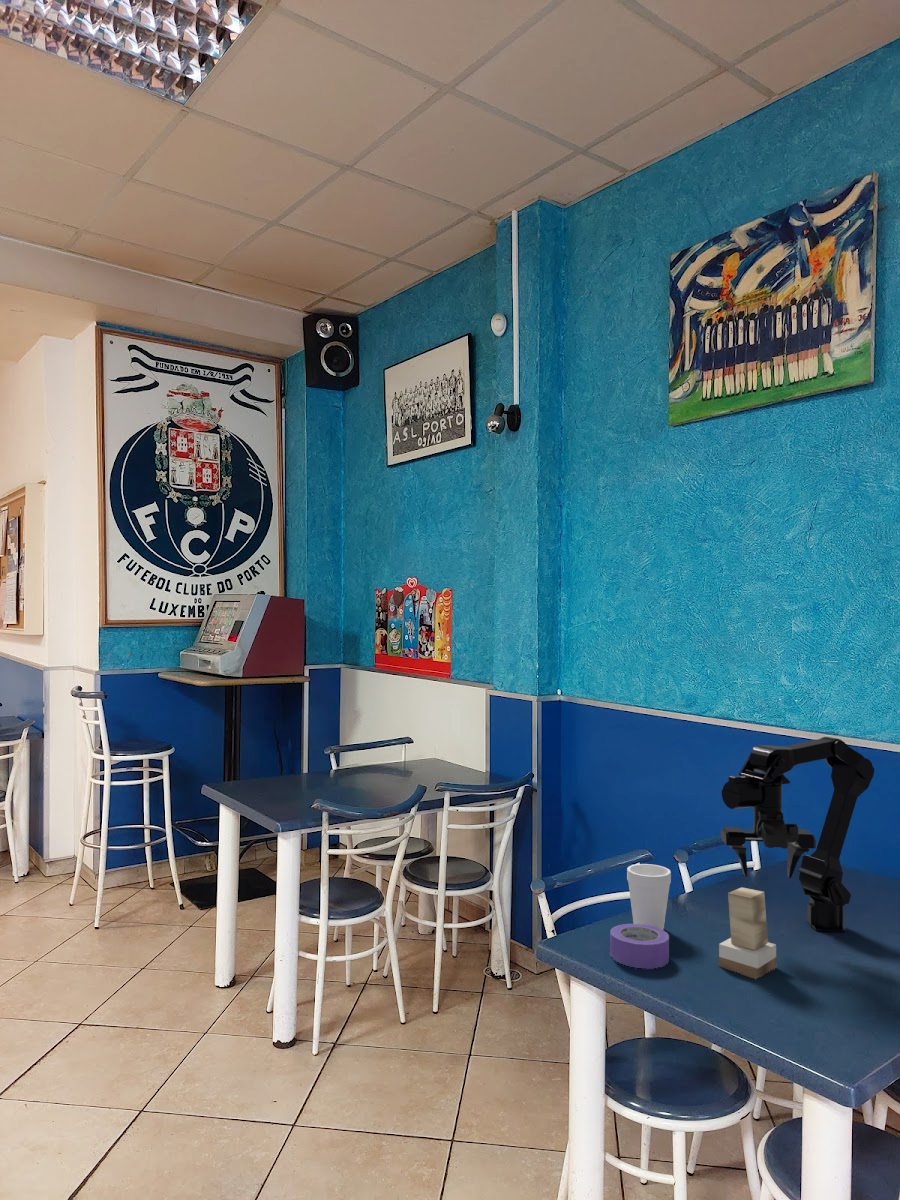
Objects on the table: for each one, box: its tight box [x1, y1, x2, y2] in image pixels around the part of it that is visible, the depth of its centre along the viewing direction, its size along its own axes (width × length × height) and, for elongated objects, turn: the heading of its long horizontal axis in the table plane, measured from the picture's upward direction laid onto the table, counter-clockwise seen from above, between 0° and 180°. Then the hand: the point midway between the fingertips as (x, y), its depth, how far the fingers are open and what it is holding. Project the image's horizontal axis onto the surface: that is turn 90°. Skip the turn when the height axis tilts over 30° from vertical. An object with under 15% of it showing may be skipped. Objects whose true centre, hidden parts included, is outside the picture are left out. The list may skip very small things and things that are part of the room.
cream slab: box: [718, 937, 777, 969], centre depth 171 cm, size 8×8×2 cm
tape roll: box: [609, 923, 670, 970], centre depth 176 cm, size 12×12×5 cm
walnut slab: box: [718, 956, 778, 980], centre depth 171 cm, size 8×8×2 cm
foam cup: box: [626, 863, 672, 930], centre depth 191 cm, size 10×9×13 cm
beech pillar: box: [727, 886, 769, 950], centre depth 171 cm, size 5×5×10 cm
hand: (767, 877), depth 187 cm, fingers open, 9 cm apart
